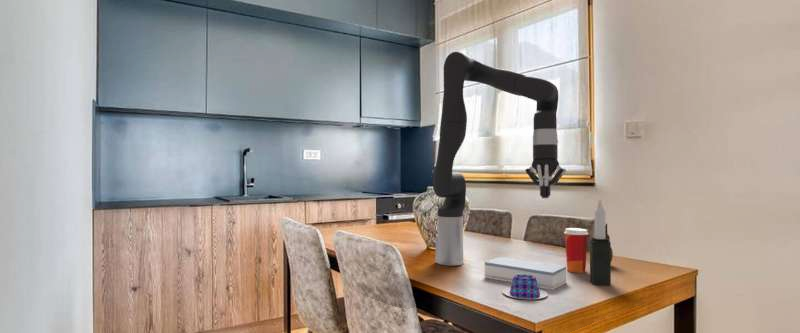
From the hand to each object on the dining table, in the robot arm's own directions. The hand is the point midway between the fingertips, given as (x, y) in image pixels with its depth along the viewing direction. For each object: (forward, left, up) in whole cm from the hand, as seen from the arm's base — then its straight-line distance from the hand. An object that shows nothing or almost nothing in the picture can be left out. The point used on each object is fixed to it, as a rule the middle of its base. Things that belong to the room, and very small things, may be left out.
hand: (545, 197), depth 142 cm
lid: (-3, -9, -21) cm, 23 cm away
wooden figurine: (+9, +28, -25) cm, 39 cm away
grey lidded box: (-3, -9, -25) cm, 27 cm away
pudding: (+4, -23, -26) cm, 35 cm away
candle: (+16, +2, -25) cm, 30 cm away
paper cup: (+5, +13, -25) cm, 29 cm away
